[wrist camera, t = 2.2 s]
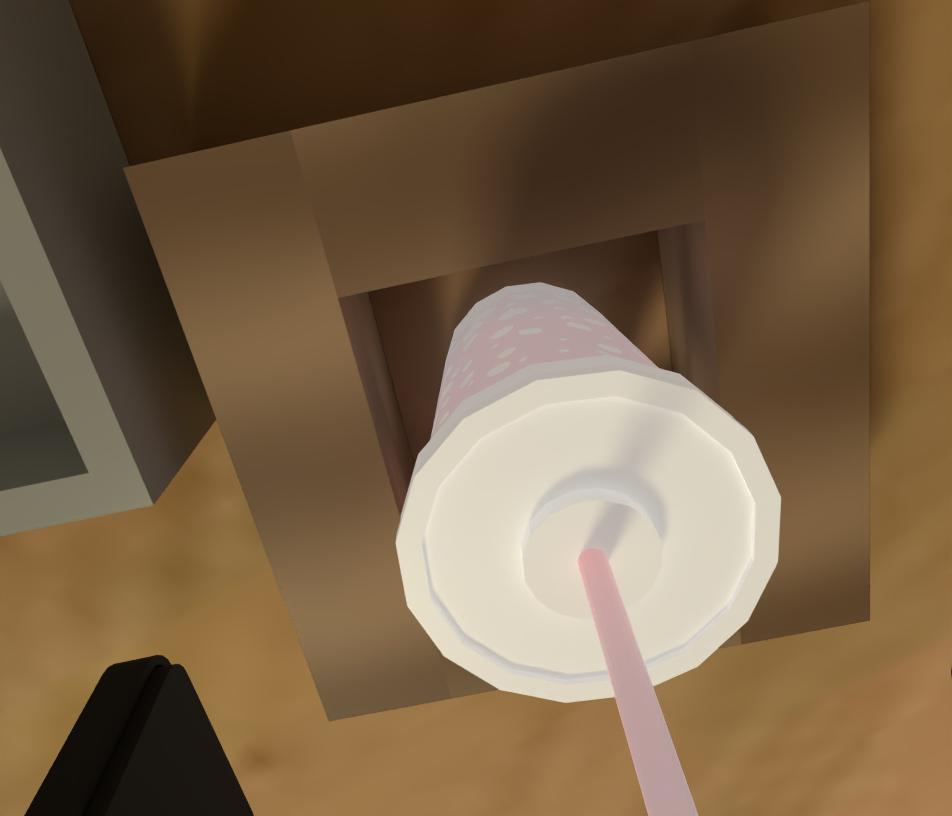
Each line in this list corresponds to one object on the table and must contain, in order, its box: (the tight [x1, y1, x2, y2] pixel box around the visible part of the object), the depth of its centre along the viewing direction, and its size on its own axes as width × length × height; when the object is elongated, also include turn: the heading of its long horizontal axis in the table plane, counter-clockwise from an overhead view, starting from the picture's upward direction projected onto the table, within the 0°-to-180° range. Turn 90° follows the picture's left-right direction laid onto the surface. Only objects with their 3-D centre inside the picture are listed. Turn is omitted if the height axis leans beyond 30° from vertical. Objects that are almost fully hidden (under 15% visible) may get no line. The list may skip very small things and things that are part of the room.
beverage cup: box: [396, 282, 781, 816], centre depth 14 cm, size 6×6×14 cm
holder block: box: [123, 1, 870, 721], centre depth 18 cm, size 14×14×4 cm
